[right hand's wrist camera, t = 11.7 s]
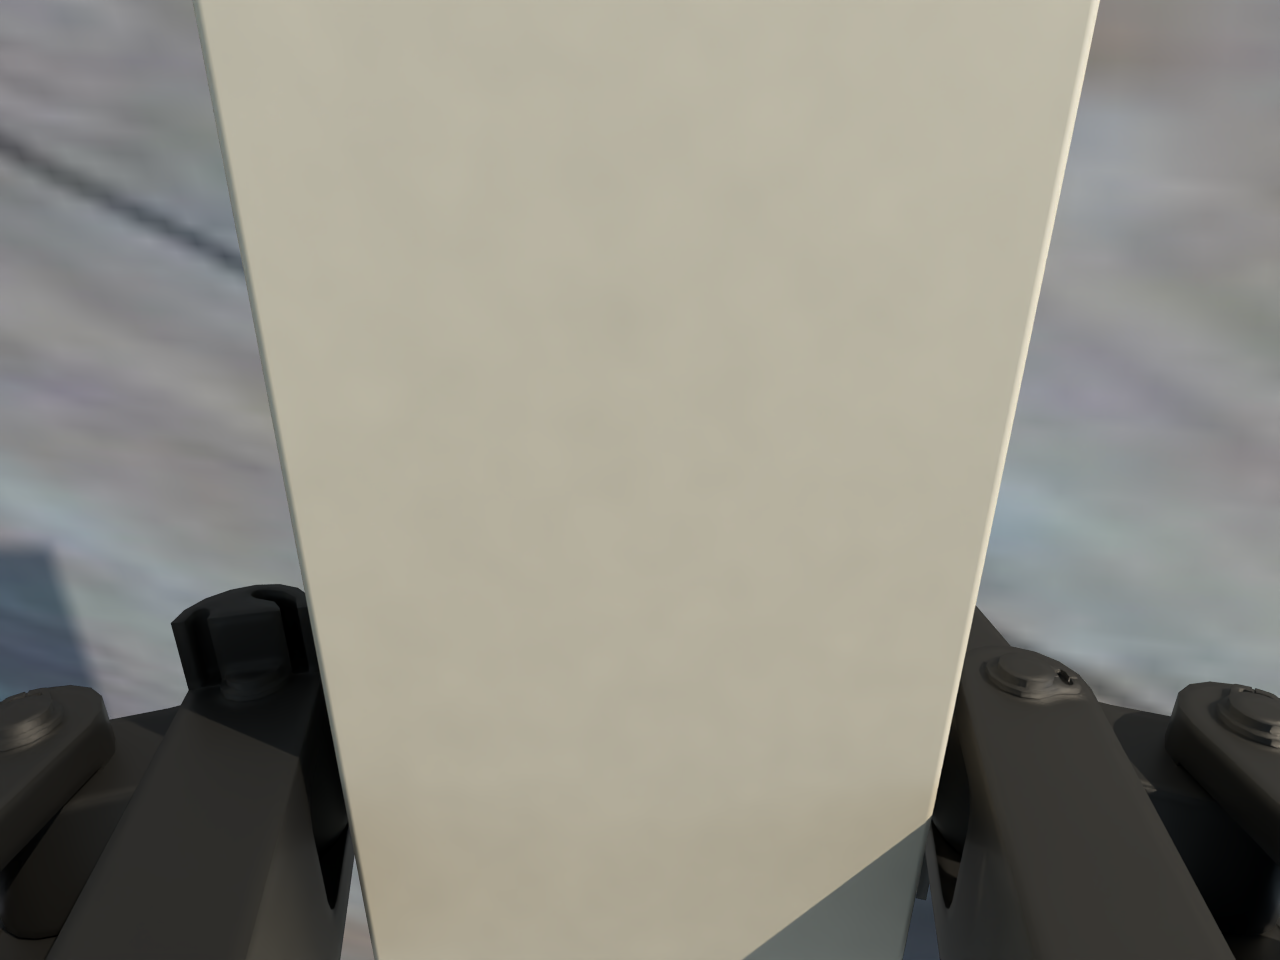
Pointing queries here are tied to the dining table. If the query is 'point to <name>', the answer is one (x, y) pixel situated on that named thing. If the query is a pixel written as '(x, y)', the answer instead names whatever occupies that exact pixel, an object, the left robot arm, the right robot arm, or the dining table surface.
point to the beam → (642, 437)
